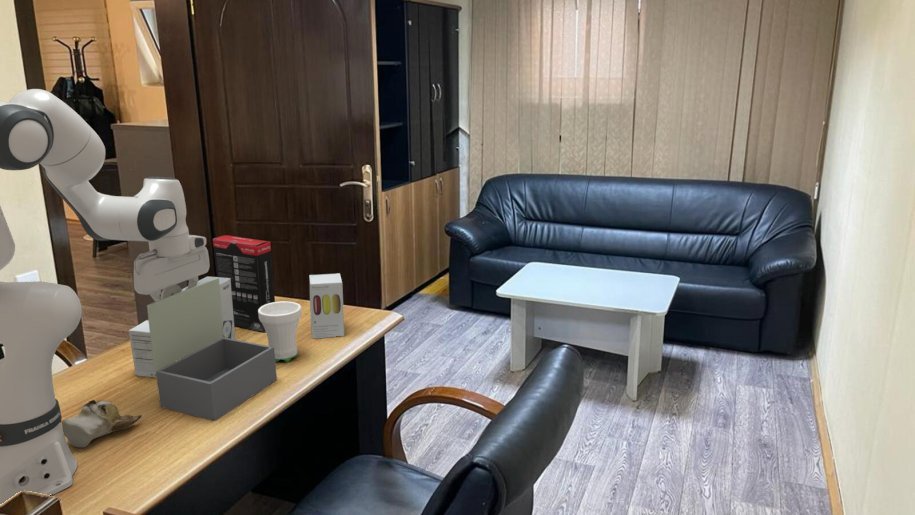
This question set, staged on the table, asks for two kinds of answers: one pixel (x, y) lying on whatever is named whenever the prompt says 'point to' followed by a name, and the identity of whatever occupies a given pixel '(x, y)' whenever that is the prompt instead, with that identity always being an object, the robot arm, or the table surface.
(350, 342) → the table surface
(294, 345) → the cup
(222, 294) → the hard drive box
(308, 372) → the table surface
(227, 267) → the graphics card box
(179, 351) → the lid flap
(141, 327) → the supplement box
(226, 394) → the carton
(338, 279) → the supplement box
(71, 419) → the ceramic sculpture
